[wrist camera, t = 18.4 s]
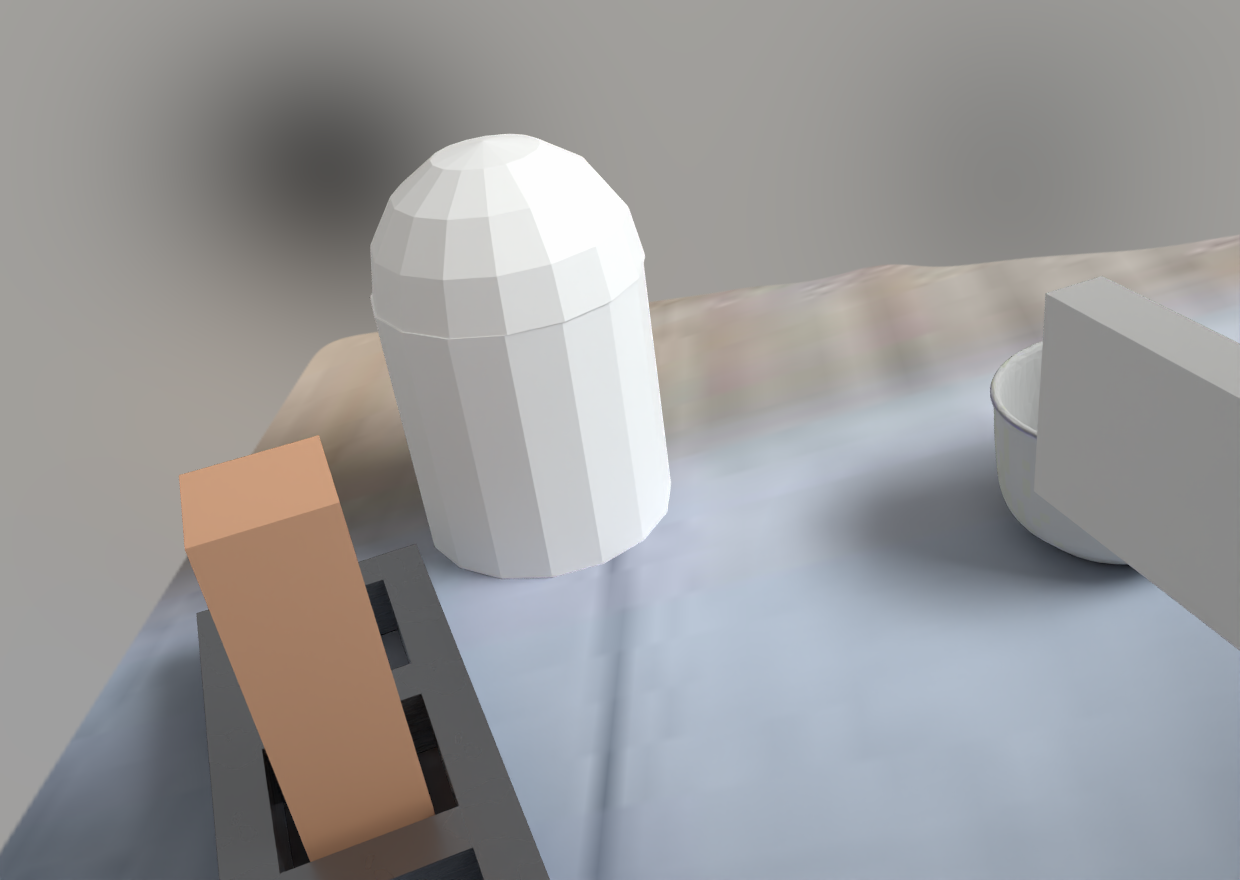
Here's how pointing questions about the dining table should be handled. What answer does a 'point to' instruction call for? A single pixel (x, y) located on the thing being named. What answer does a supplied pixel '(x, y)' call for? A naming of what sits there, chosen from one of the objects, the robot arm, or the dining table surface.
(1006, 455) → the teacup
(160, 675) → the dining table surface
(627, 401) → the container
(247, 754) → the rail
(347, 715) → the post
